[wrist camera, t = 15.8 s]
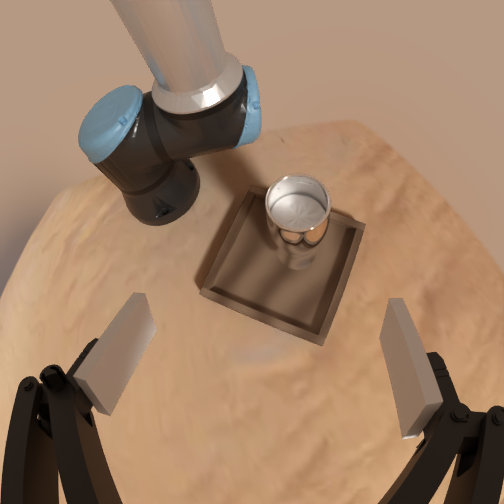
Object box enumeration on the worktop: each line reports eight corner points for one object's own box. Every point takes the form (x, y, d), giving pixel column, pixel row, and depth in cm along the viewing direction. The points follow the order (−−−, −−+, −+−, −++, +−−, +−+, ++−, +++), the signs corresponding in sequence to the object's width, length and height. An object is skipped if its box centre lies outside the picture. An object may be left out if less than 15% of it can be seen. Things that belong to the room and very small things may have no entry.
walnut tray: (203, 296, 47) (199, 293, 44) (253, 192, 51) (251, 185, 49) (321, 345, 42) (322, 345, 39) (362, 230, 46) (365, 224, 44)
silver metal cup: (308, 281, 41) (315, 245, 27) (265, 259, 43) (250, 215, 28) (329, 239, 42) (343, 187, 28) (287, 220, 44) (282, 162, 30)
